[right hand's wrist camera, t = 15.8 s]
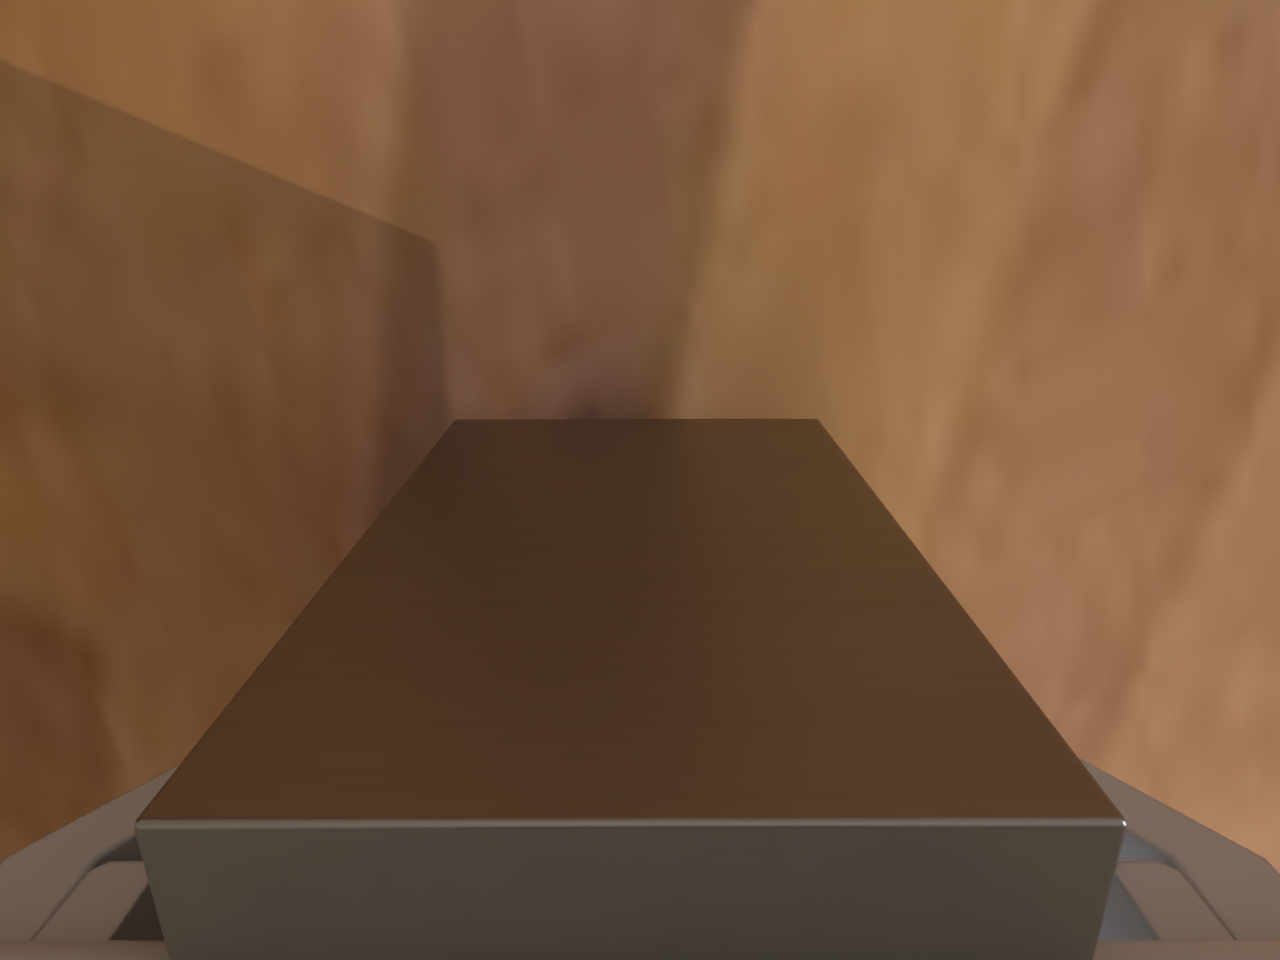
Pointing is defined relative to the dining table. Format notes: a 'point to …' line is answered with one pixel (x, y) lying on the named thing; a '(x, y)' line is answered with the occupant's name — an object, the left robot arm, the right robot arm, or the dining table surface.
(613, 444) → the bar
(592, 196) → the dining table surface
